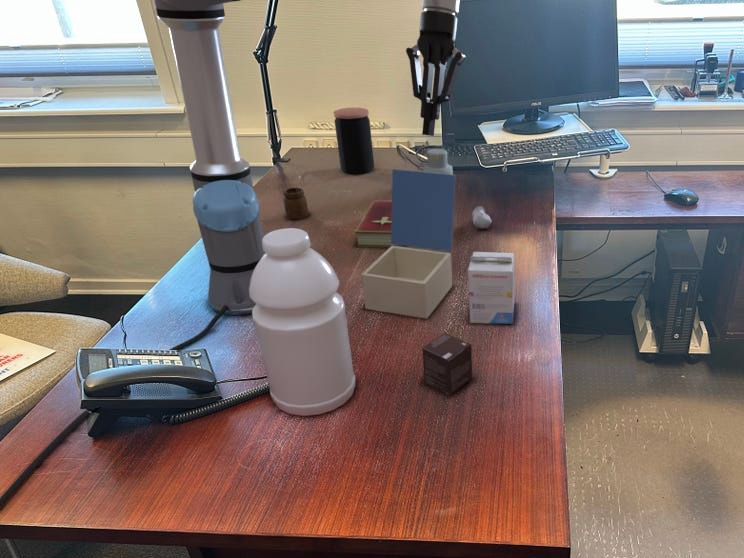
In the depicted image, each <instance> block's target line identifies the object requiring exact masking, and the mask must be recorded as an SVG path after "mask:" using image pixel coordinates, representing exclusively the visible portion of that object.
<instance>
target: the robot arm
mask: <svg viewBox="0 0 744 558" xmlns="http://www.w3.org/2000/svg"><path fill="white" fill-rule="evenodd" d="M241 1H243V0H153V3H154V8H155V11H156V12H155V13H156V16H157V19H158V20H159V21H161V23H163V24H164V25H165V26H166V27H167V29H168V31H169V36H170V40H171V46H172V50H173V55H174V59H175V65H176V69H177V74H178V78H179V79H178V80H179V83H180V89H181V93H182V98H183V102H184V107H185V113H186V117H187V122H188V127H189V131H190V137H191V141H192V147H193V151H194V155H195V160H194V161H193V162H192V163H191V165H190V167H189V171H190V174H191V179H192V185H193V190H194V194H193V196H192V205H193V206H192V209H193V214H194V217H195V219H196V221H197V225H198V228H199V233H200V236H201V240H202V243H203V247H204V251H205V254H206V259H207V262H208V266H209V270H210V271H209V282H208V291H207V296H208V302H209V305H210V308H211V309H212V310H213V311H215V312H217V313H216V314H215V315H214V316H213V318H211V320H210V321H209V323H208V324H207V325H206V327H205V328H204V329H203V330H202V331H200V332H199V333H198V334H196V335H195V336H193V337H191V338H189V339H188V340H185V341H184V342H181V343H179V344H177V345H175V346H173V347H172V348H169V350H178V351H181V350H183V349H184V348H187V347H189V346H191V345H192V344H194V343H196V342H198V341H200V340H201V339H203V338H204V337H205V336H206V335H208V333H209V332H210V331H211V330H212V328H213V327H214V326H215V324H217V322H218V321H219V320H220V318H221V317H222V316H223V315H227V316H247V315H252V310H253V308H254V307H255V305H256V303H255V302H254V301H253V300H252V299H251V298H250V296H249V286H250V280H251V276H252V273H253V271H254V269H255V267H256V265H257V264H258V262H259V261H260V260H261V258H262V257H263V255H264V254H265V252H264V251H263V246H262V239H263V237H264V236H265V232H264V227H263V222H262V218H261V212H260V203H259V198H258V197H257V195H256V193H255V190H254V183H253V177H252V172H251V165H250V162H249V161H248V160H246V159H245V158H243V157H242V156H241V153H240V147H239V141H238V133H237V127H236V123H235V118H234V111H233V105H232V98H231V93H230V88H229V82H228V74H227V69H226V64H225V57H224V52H223V46H222V40H221V35H220V26H221V24H222V23H223V22H224V20H225V19H226V14H225V13H226V12H225V7H224V4H227V3H232V2H233V3H234V2H241ZM420 7H421V10H422V12H420V19H419V36H418V38H417V41H416V44H415V45H413V46H412V47H406V49H405V52H406V55H407V57H408V59H409V67H410V76H411V83H412V85H411V86H412V92H413V93H412V94H413V95H412V96H413V97H414V98H416V99H418V100H420V118H421V119H423V121H422V122H423V123H422V132H421V135H423V136H430V137H434V136H435V128H436V120H437V121H439V119H440V113H441V107H442V106H441V105H442V104H443V103H447V102H449V101H450V100H451V97H452V93H453V91H454V87H455V85H456V81H457V78H458V75H459V73H460V68H461V66H462V65H463V63H464V62H465V61H466V58H467V56H466V54H465V53H463V52H461V51H460V49H458V48H457V42H456V37H457V27H458V18H457V15H458V14H459V9H460V0H421V6H420ZM420 56H422V58H423V59H422V66H423V70H422V68H421V61H420ZM450 58H451V60H450ZM449 60H450V64H449V66H448V70H447V73H446V69H447V65H448V64H447V63H448V61H449ZM445 73H446V74H445ZM445 75H446V76H445ZM86 410H87V409H85V410H84V411H83V412H82V413H81V414H80V415H79V416H77V417H76V418H75V419H74V420H73V421H72V422H71V423H70V424H69V425H68V426H66V427H65V428H64V429H63V430H62V431H61V432H60V433H59V434H58V435H57V436H56V437H55V438H54V439H53V440H52V441H51V442H50V443H49V444H48V445H47V446H46V447H45V448H43V450H42V451H41V452H40V454H38V455H37V456H36V457H35V458H34V459H33V461H32V462H31V463H30V464H29V465H27V467H26V468H25V469H24V470H23V471H22V472H21V474H19V476H18V477H17V478H16V479H15V481H14V482H13V483H12V484H11V485H10V486H9V487H8V489H6V490H5V491H4V493H2V495H0V509H1V508H2V507H4V505H5V504H6V503H7V501H8V500H9V499H10V498H11V497H12V496H13V495H14V494H15V492H16V491H18V489H19V488H20V487H21V486H22V484H23V483H24V482H25V481H26V480H27V478H29V477H30V475H31V474H32V473H33V472H34V471H35V470H36V469H37V468H38V466H40V464H41V463H43V461H44V460H45V459H46V458H47V457H48V456H49V455H50V454H51V453H52V451H53V450H55V448H56V447H57V446H58V445H60V443H61V442H62V441H63V440H64V439H66V437H68V436H69V434H71V433H72V432H73V431H74V430H75V429H76V428H77V427H78V426H79V425H80V424H81V423H82V422H83V421H85V419H86V418H88V417H89V416H90V415H91V414H90V413H89V412H87V411H86Z"/></svg>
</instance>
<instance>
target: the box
mask: <svg viewBox="0 0 744 558" xmlns="http://www.w3.org/2000/svg"><path fill="white" fill-rule="evenodd" d="M421 349H422V362H423V378H424V379H423V381H424V383H425V384H426V385H429V386H430V387H433V388H435V389H436V390H439V391H440V392H443V393H445V394H446V395H450V396H451V395H452V394H453V393H455V392H456V391H458V390H459V389H460V388H462V387H463V386H465V385H466V384H467V383H469V382H470V381H471V380H473V355H472V351H473V350H472V343H470V342H467V341H465V340H463V339H460V338H458V337H456V336H454V335H451V334H449V333H447V332H444V333H443V334H441V335H440V336H438V337H437V338H435V339H433V340H432V341H430V342H429V343H427V344H425V345H424V346H422V347H421Z"/></svg>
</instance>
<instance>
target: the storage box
mask: <svg viewBox="0 0 744 558" xmlns="http://www.w3.org/2000/svg"><path fill="white" fill-rule="evenodd" d="M452 269H453V267H452V253H451V252H446V251H438V250H431V249H423V248H416V247H408V246H404V247H400V246H391V247H388V248H387V250H386V251H384V252H383V253H382V254H381V255H380V256H379V257H378V258H377V259H376V260H375V261H374V262H373V263H372V264H371V265H370V266H369V267H367V269H365V270H364V271H363V272H362V273H361V274H360V276H361V277H360V278H361V285H362V292H363V293H362V294H363V299H364V307H365V310H369V311H370V310H371V311H375V312H383V313H389V314H395V315H400V316H408V317H414V318H420V319H426V320H427V319H428V318H429V317H430V316H431V314H433V312H434V311H435V309H436V308H437V306H438V305H439V304H440V303H441V301H442V300H443V299H444V298H445V296H446V295H447V294H448V292H449V291H450V290H451V289H452V288H453V270H452Z"/></svg>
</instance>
